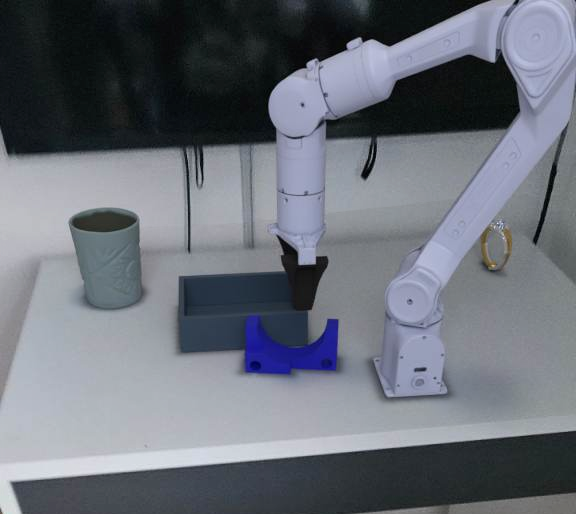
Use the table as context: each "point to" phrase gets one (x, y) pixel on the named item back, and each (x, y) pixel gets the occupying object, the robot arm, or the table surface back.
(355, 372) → the table surface
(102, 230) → the embossed grey cup
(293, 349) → the blue cradle bracket
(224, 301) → the desk bin
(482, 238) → the ring
